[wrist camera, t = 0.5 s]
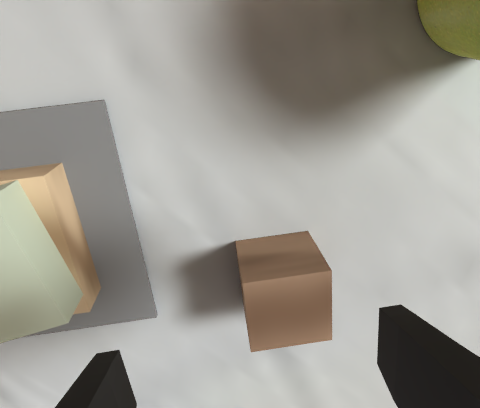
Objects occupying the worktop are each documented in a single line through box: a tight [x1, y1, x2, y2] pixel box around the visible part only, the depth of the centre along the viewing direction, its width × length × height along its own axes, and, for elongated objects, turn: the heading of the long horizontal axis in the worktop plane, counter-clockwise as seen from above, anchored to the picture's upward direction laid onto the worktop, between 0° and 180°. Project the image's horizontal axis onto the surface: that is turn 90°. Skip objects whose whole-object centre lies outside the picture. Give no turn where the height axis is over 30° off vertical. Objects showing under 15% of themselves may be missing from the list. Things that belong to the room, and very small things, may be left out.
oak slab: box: [0, 163, 101, 314], centre depth 17 cm, size 7×7×2 cm
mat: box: [0, 100, 157, 337], centre depth 18 cm, size 12×12×1 cm
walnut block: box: [235, 231, 332, 352], centre depth 18 cm, size 4×4×4 cm
